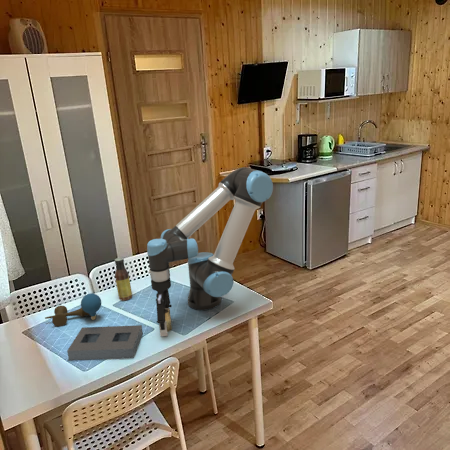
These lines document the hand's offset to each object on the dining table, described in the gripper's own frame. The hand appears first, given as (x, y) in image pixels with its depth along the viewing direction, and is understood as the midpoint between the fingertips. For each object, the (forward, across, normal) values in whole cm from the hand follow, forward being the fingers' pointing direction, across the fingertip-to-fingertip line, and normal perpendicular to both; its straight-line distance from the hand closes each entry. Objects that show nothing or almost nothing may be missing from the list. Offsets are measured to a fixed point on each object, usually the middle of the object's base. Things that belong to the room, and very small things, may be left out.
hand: (166, 328), depth 174 cm
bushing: (0, 0, 0) cm, 0 cm away
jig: (0, +11, -21) cm, 24 cm away
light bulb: (+1, -10, -33) cm, 34 cm away
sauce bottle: (0, -29, -24) cm, 38 cm away
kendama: (+1, -11, -44) cm, 45 cm away
